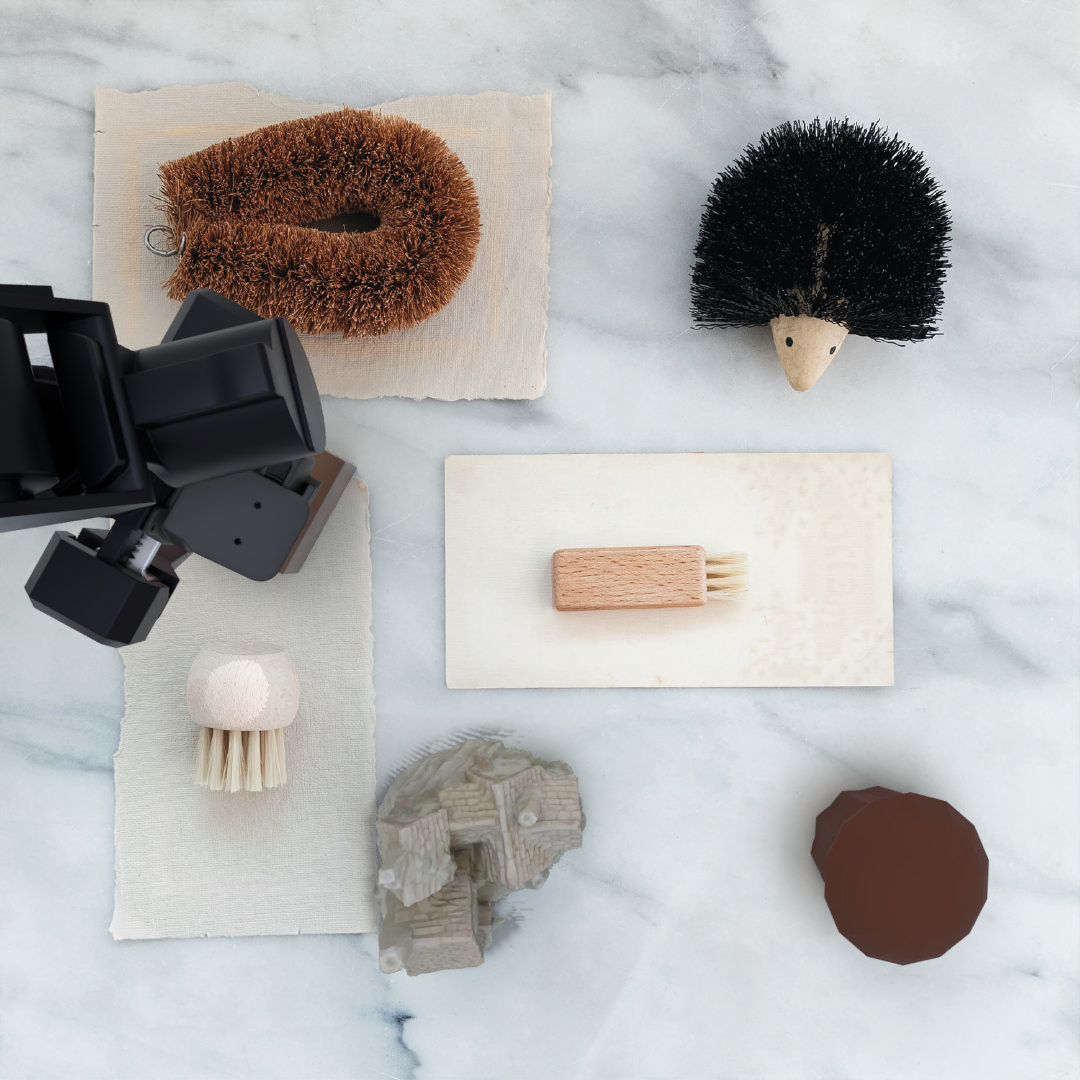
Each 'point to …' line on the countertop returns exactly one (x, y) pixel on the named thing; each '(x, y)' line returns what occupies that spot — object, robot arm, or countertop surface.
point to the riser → (319, 506)
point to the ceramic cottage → (466, 849)
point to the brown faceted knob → (900, 873)
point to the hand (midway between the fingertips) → (223, 481)
